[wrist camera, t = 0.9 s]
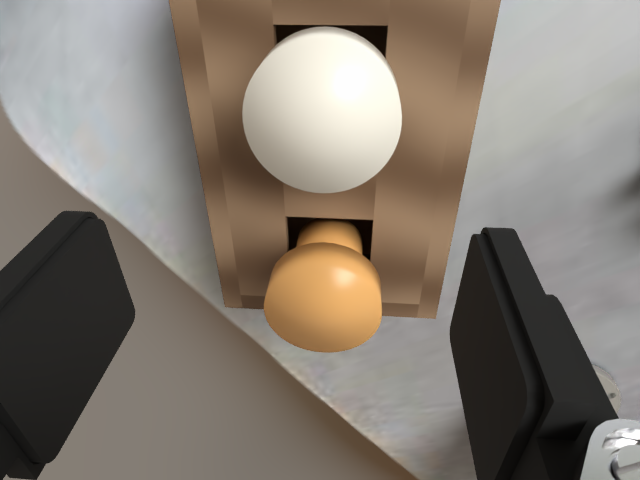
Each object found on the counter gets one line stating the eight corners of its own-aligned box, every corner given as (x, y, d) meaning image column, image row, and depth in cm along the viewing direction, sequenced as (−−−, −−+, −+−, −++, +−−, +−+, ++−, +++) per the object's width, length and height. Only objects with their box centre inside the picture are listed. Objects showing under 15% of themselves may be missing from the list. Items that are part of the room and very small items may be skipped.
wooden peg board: (425, 261, 34) (435, 318, 29) (244, 253, 35) (225, 307, 30) (478, -53, 22) (509, -44, 17) (203, -52, 23) (160, -43, 18)
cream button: (388, 137, 23) (394, 195, 18) (274, 134, 24) (250, 190, 19) (399, 8, 20) (410, 39, 15) (265, 8, 20) (233, 37, 15)
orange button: (375, 282, 29) (377, 355, 24) (284, 277, 30) (268, 349, 25) (382, 203, 26) (386, 270, 21) (278, 199, 26) (258, 264, 21)
